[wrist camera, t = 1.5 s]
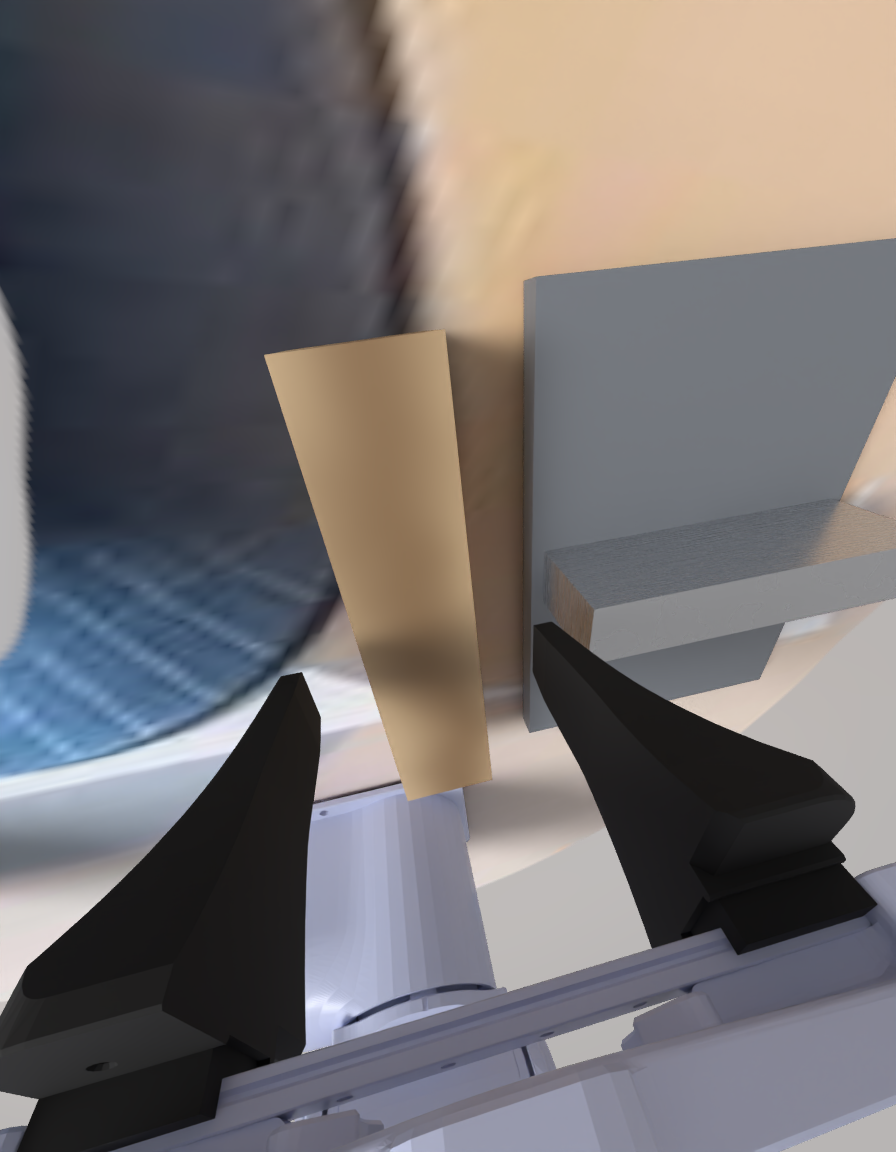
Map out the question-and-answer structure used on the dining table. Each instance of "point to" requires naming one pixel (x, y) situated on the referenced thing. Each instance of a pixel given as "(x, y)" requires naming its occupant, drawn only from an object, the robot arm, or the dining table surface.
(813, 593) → the steel ridge
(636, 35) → the dining table surface
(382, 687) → the oak bar
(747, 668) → the slate base plate
